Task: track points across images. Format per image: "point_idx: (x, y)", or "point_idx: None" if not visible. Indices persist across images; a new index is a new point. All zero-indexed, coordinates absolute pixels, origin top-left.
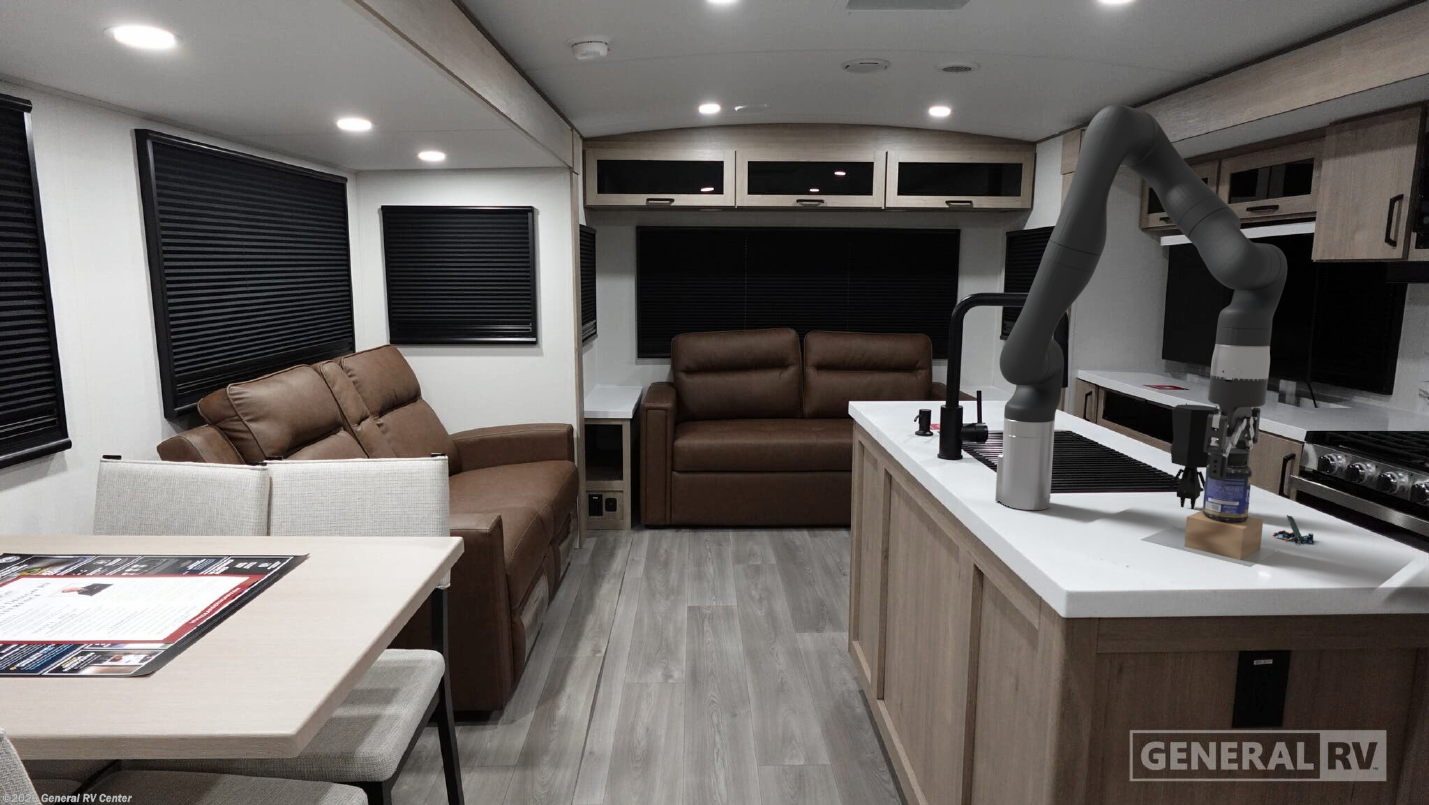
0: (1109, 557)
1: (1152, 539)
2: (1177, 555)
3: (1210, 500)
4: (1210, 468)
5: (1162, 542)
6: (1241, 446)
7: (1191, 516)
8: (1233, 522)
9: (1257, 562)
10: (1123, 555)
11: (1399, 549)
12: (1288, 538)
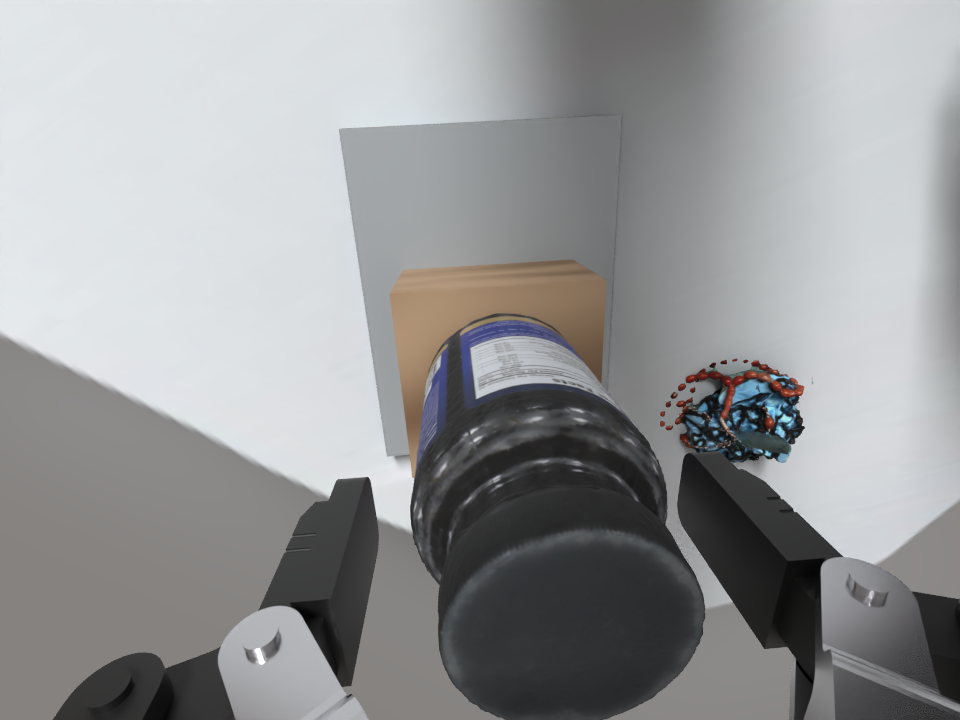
0: (132, 130)
1: (383, 157)
2: None
3: (426, 394)
4: (291, 542)
5: (379, 201)
6: (805, 629)
7: (408, 303)
8: None
9: None
10: (202, 149)
11: (885, 542)
12: (747, 409)
